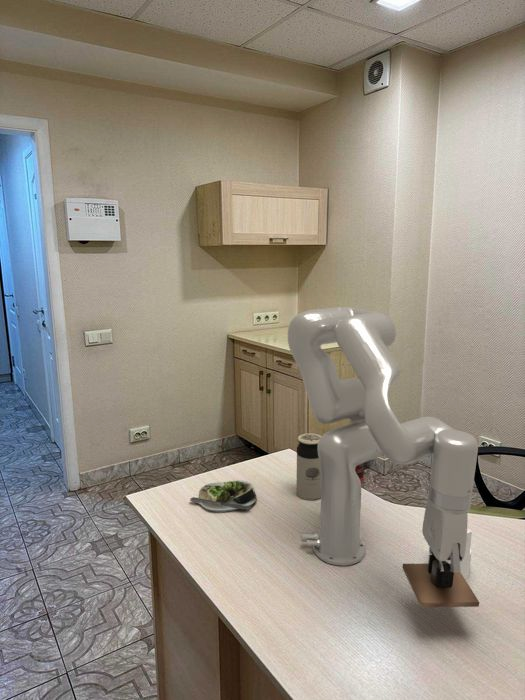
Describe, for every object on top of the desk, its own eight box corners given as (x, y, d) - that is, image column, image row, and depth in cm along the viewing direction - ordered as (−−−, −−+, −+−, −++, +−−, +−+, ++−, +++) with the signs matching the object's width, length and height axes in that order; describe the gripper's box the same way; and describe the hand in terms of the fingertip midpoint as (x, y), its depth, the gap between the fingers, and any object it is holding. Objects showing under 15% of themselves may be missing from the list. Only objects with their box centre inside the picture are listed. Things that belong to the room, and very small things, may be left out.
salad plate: (190, 520, 136) (190, 504, 135) (189, 488, 153) (189, 475, 152) (260, 513, 139) (260, 498, 138) (251, 483, 156) (251, 470, 155)
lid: (420, 607, 92) (423, 584, 91) (402, 567, 103) (404, 546, 101) (478, 606, 92) (482, 583, 91) (454, 567, 103) (457, 546, 102)
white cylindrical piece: (419, 563, 117) (422, 517, 114) (449, 553, 120) (452, 508, 117) (447, 587, 108) (451, 538, 106) (478, 576, 112) (483, 528, 109)
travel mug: (297, 486, 153) (297, 432, 149) (323, 488, 152) (324, 433, 148) (295, 499, 145) (296, 442, 142) (322, 501, 144) (323, 443, 141)
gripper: (415, 474, 101) (407, 552, 105) (446, 520, 85) (435, 611, 89) (452, 474, 101) (442, 552, 105) (489, 520, 85) (476, 611, 89)
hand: (439, 578), depth 97 cm, fingers closed on lid, 3 cm apart
